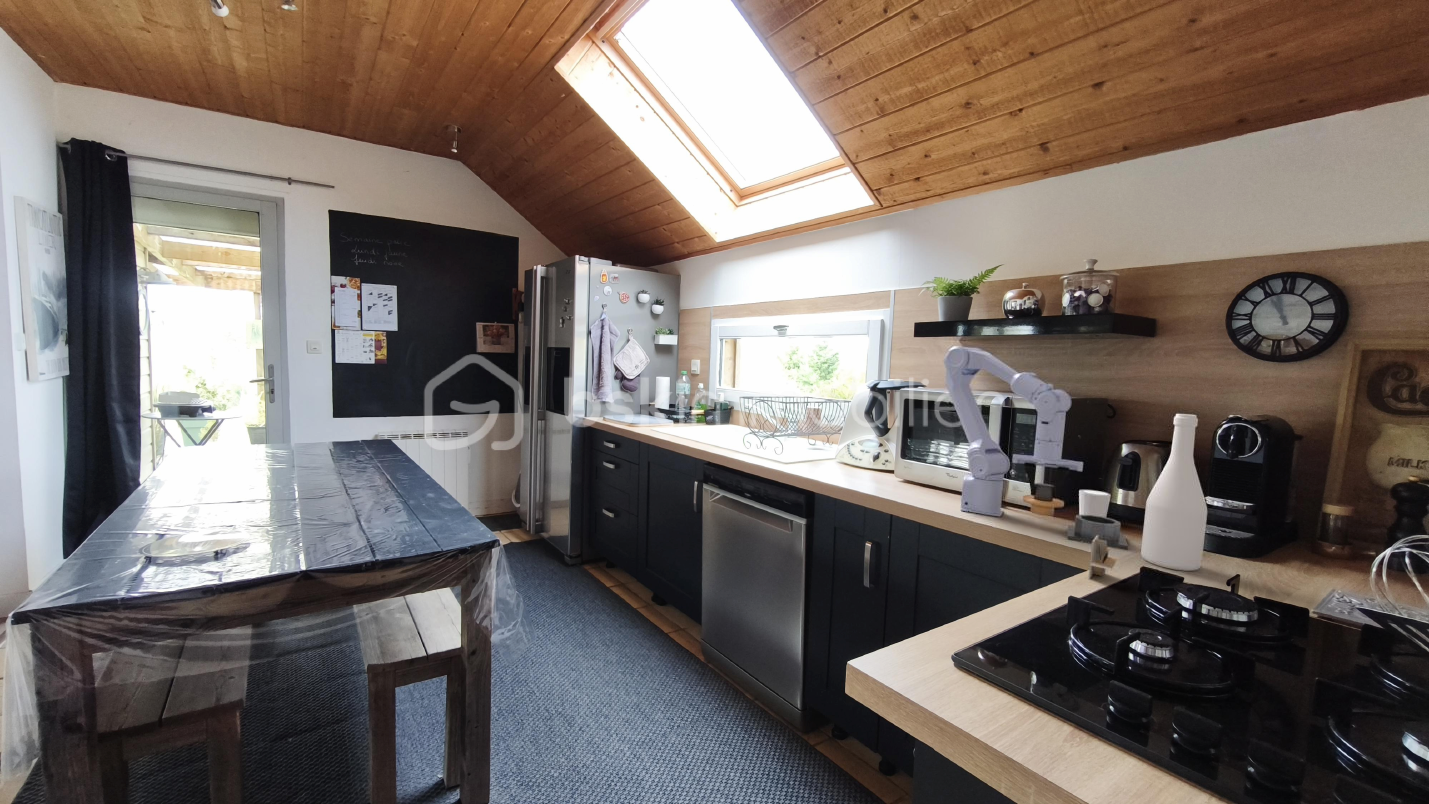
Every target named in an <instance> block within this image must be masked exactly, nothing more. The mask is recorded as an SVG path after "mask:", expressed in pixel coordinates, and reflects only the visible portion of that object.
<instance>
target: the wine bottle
mask: <svg viewBox="0 0 1429 804" xmlns="http://www.w3.org/2000/svg"><path fill="white" fill-rule="evenodd" d="M1197 417H1198V416H1197V415H1196V414H1188V413H1187V414H1186V413H1176V414H1175V416H1174V417H1173V425H1174V429H1173V436H1172V441H1171V442H1172V444H1171V451H1170V455H1169V457H1168V460H1167V462H1166V464H1165V465H1164V467H1163V470H1162V471H1161V473H1160V475H1159V476H1158V479H1157V480H1156V482H1155V483H1154V485H1153V487H1152V489H1151V491H1150V493H1149V495H1148V497H1147V499H1146V502H1145V511H1144V513H1145V514H1144V521H1143V522H1144V523H1143V530H1142V540H1141V549H1140V550H1141V551H1140V554H1141V557H1142V559H1144V560H1145V561H1146V562H1148V563H1150V564H1153V565H1156V566H1159V567H1161V568H1167V569H1171V570H1175V571H1176V570H1177V571H1183V572H1184V571H1186V572H1187V571H1188V572H1189V571H1190V572H1192V571H1197V570H1199V568H1200V567H1201V565H1202V562H1203V561H1202V560H1203V553H1204V551H1203V550H1204V543H1205V537H1206V536H1205V535H1206V527H1207V516H1208V507H1207V503H1206V500H1205V495H1204V493H1203V489H1202V486H1201V482H1200V478H1199V475H1198V472H1197V468H1196V465H1195V458H1194V450H1195V449H1194V448H1195V437H1196V436H1195V435H1196V427H1198V422H1199V418H1197Z"/></svg>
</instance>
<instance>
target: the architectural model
mask: <svg viewBox="0 0 1429 804" xmlns="http://www.w3.org/2000/svg"><path fill="white" fill-rule="evenodd" d="M1089 558H1090V560H1089V568H1088V569H1089V570H1088V580H1090V579H1091V578H1092V576H1093V575H1096V576H1097V575H1098V576H1100V577H1104V575H1105V574H1106V571H1107V570H1109V571H1112V570H1113V569H1114V567H1115V565H1116V563H1117V561H1118V559H1116V558H1112V557H1109V548H1108V546H1107V541H1103V540H1099V539H1098V535H1097V536H1096V537H1095V538H1094V540H1093V541H1092V543H1091V549H1090V557H1089Z"/></svg>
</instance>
